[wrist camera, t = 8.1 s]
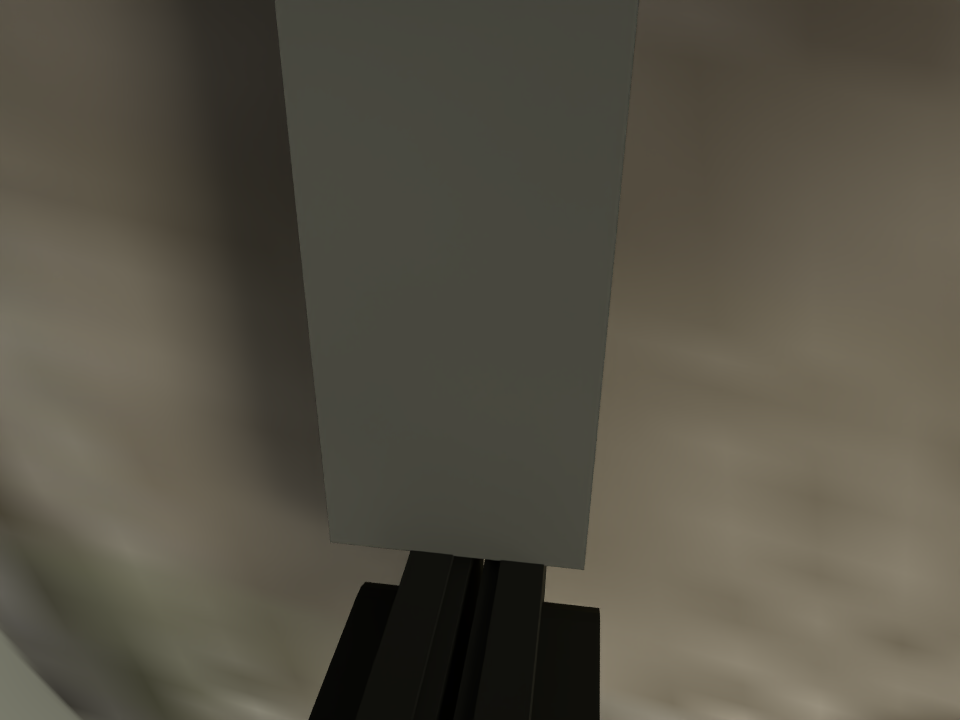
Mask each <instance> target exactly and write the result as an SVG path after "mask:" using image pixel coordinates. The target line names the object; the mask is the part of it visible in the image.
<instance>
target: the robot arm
mask: <svg viewBox="0 0 960 720" xmlns="http://www.w3.org/2000/svg"><path fill="white" fill-rule="evenodd" d="M483 562H484V559H479V558H470V557H461V556H453V555H452V554H443V553H433V552H424V551H415V550H411V551H410V554H409V557H408V560H407V564H406V567H405V570H404V573H403V576H402V579H401V582H400V585H399V586H397V585H388V584H380V583H371V582H365V583H364V584H363V585H362V586H361V588H360V590H359V592H358V594H357V597H356V599H355V602H354V604H353V607H352V609H351V612H350V615H349V617H348V620H347V622H346V625H345V627H344V630H343V633H342V635H341V638H340V640H339V643H338V645H337V648H336V650H335V653H334V656H333V658H332V661H331V663H330V666H329V668H328V671H327V673H326V676H325V679H324V681H323V684H322V686H321V689H320V691H319V694H318V697H317V699H316V702H315V704H314V707H313V709H312V712H311V714H310V717H309V720H600V611H599V608H593V607H584V606H575V605H566V604H557V603H549V602H544V595H545V580H546V566H544V564H535V563H526V562H517V561H507V560H501V561H498V560H488V559H485V562H484V567H483Z"/></svg>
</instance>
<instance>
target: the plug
mask: <svg viewBox="0 0 960 720" xmlns="http://www.w3.org/2000/svg"><path fill="white" fill-rule="evenodd" d="M638 5H639V0H275V10H276V20H277V29H278V39H279V49H280V58H281V68H282V78H283V87H284V97H285V107H286V116H287V126H288V136H289V145H290V155H291V165H292V175H293V184H294V194H295V204H296V213H297V223H298V233H299V242H300V252H301V262H302V271H303V281H304V291H305V301H306V310H307V320H308V330H309V339H310V349H311V359H312V368H313V378H314V388H315V397H316V407H317V417H318V427H319V436H320V446H321V456H322V465H323V475H324V485H325V494H326V504H327V514H328V523H329V533H330V542H332V543H341V544H351V545H360V546H369V547H378V548H387V549H396V550H406V551H411V550H415V551H424V552H433V553H443V554H452V555H453V556H461V557H470V558H479V559H488V560H498V561H501V560H507V561H517V562H526V563H535V564H544V566H553V567H562V568H571V569H580V570H584V565H585V555H586V544H587V534H588V524H589V513H590V503H591V492H592V482H593V472H594V461H595V451H596V441H597V430H598V420H599V410H600V399H601V389H602V378H603V368H604V358H605V347H606V337H607V327H608V316H609V306H610V296H611V285H612V275H613V264H614V254H615V244H616V233H617V223H618V213H619V202H620V192H621V182H622V171H623V161H624V150H625V140H626V130H627V119H628V109H629V99H630V88H631V78H632V68H633V57H634V47H635V36H636V26H637V16H638Z"/></svg>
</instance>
